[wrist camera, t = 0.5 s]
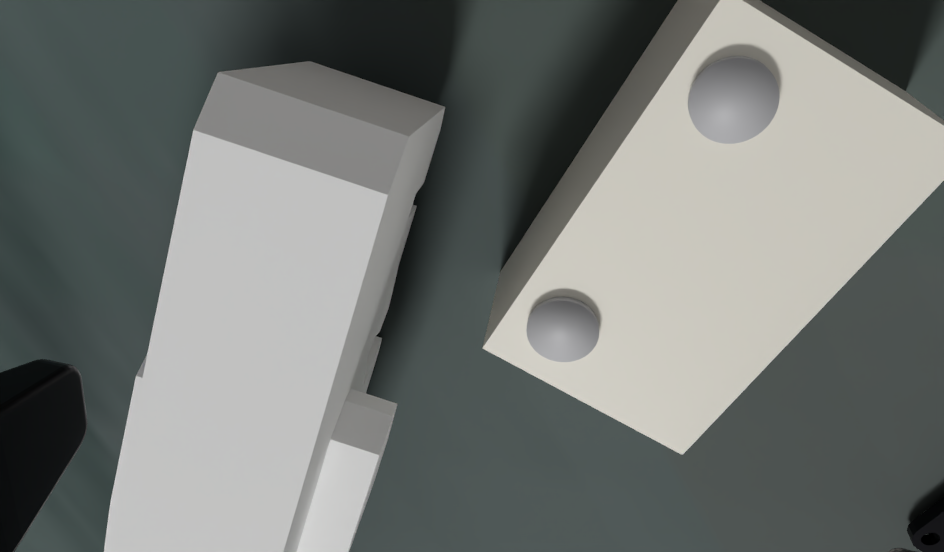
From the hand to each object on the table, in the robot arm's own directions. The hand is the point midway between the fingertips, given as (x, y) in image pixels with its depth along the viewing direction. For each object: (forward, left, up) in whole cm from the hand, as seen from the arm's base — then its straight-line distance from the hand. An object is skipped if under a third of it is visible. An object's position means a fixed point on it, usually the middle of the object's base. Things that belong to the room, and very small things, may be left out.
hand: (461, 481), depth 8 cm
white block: (-4, -1, -13) cm, 13 cm away
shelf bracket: (+1, +13, -13) cm, 18 cm away
